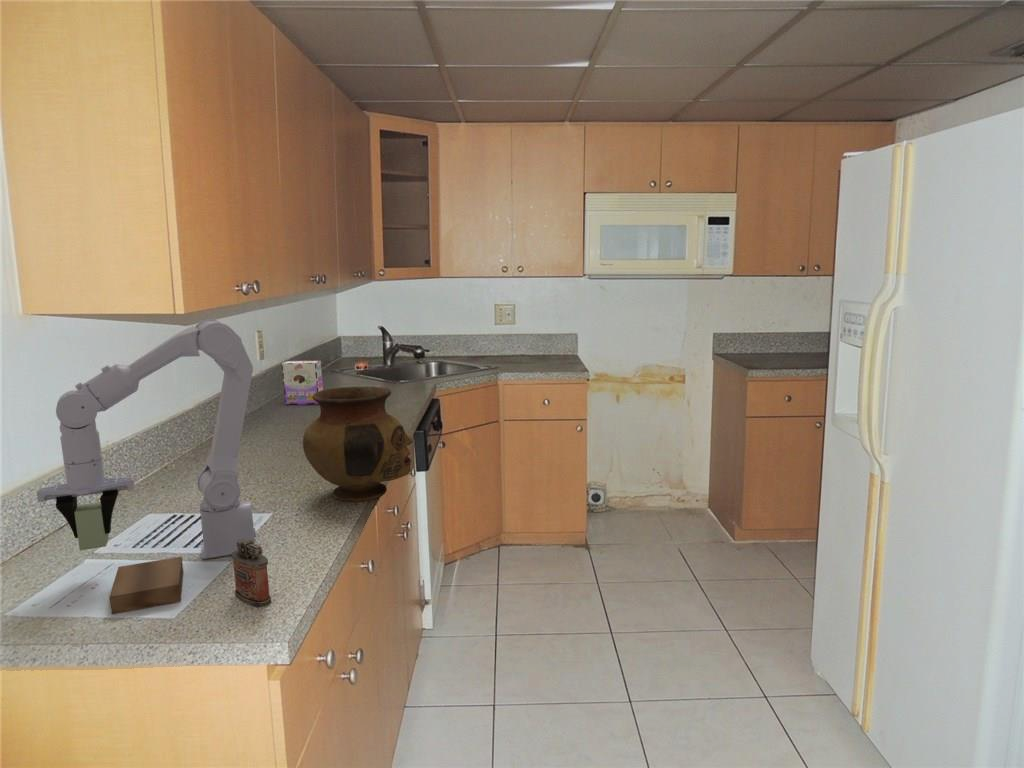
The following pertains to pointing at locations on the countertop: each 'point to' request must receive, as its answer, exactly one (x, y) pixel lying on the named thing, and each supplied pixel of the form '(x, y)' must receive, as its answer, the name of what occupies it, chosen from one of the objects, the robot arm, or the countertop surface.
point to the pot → (356, 442)
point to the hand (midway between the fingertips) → (93, 533)
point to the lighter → (251, 574)
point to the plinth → (147, 585)
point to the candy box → (301, 381)
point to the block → (90, 526)
